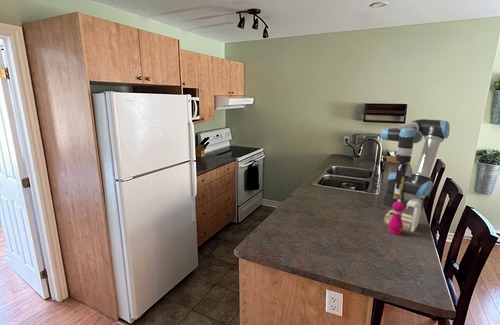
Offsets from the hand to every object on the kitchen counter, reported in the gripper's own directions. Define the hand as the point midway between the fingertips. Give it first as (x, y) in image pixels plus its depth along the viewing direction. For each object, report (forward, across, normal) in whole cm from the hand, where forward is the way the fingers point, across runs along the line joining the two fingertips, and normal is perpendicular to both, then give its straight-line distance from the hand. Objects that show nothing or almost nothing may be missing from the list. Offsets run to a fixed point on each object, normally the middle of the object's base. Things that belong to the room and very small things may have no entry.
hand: (398, 192), depth 162 cm
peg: (+4, 0, 0) cm, 4 cm away
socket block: (+19, 0, +3) cm, 19 cm away
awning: (+19, 0, +9) cm, 21 cm away
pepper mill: (+20, +14, +4) cm, 25 cm away
